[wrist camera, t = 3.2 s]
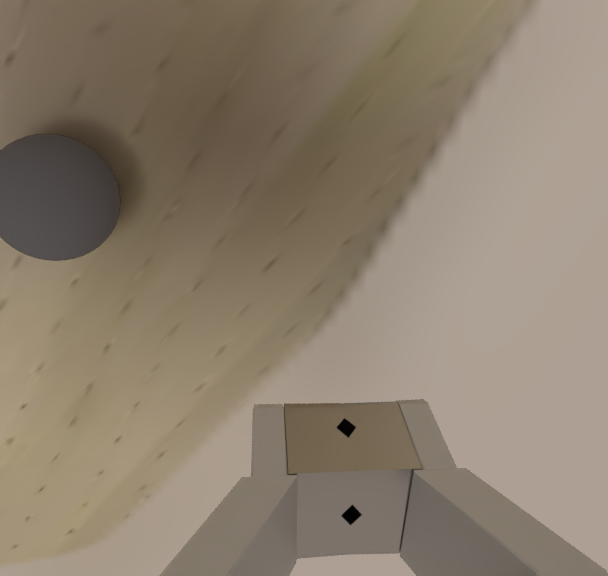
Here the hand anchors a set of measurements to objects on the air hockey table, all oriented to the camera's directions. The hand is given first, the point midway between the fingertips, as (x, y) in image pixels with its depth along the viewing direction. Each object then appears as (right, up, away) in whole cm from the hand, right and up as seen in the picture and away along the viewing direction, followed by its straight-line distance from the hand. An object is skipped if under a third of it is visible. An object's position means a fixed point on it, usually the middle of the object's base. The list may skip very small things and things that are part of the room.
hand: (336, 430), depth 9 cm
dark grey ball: (-11, +6, +12) cm, 17 cm away
